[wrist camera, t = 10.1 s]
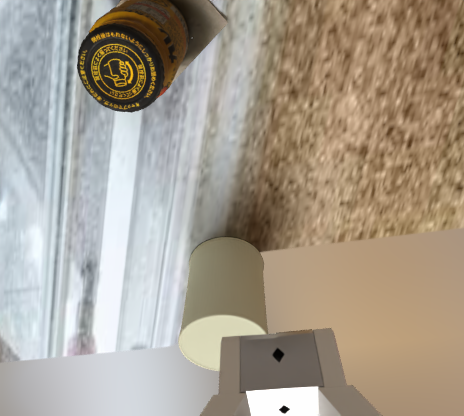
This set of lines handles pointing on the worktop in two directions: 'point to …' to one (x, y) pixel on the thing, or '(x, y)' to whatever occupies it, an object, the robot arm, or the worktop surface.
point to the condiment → (144, 49)
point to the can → (222, 298)
